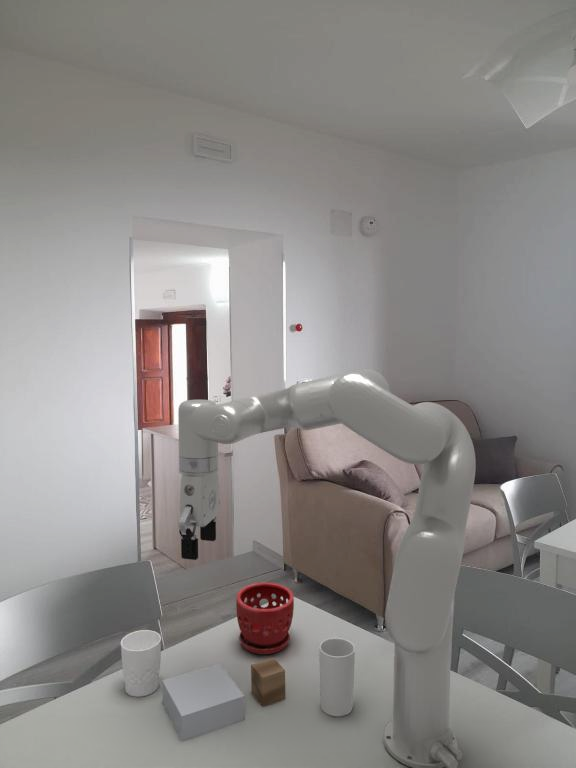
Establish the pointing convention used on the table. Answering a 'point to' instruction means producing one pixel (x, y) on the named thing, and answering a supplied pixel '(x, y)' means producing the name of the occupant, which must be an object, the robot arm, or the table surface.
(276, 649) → the plant pot
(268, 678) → the walnut block
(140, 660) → the white cup
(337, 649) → the mug
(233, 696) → the grey block
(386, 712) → the table surface
